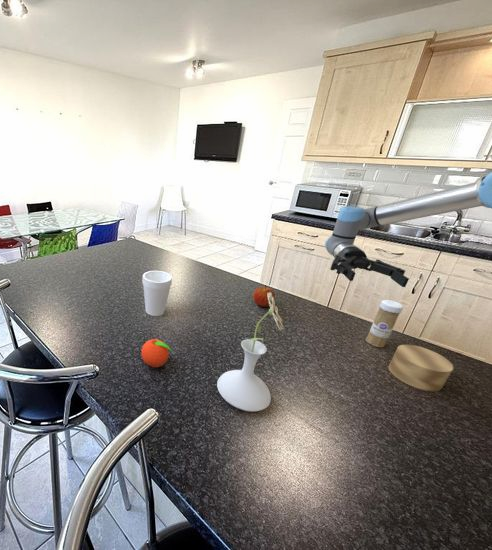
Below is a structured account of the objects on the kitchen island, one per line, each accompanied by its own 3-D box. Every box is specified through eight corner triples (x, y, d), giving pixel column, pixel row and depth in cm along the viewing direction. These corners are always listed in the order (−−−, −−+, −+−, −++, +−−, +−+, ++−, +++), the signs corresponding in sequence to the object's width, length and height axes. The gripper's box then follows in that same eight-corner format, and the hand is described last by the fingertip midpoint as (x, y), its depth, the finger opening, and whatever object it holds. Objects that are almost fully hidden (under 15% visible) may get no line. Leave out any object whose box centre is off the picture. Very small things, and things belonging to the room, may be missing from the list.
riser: (425, 366, 77) (435, 348, 74) (452, 395, 68) (465, 375, 66) (380, 359, 79) (389, 341, 77) (401, 386, 70) (412, 366, 68)
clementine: (174, 359, 78) (176, 337, 75) (168, 377, 72) (170, 354, 69) (145, 352, 80) (146, 330, 77) (137, 369, 74) (138, 346, 71)
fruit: (276, 307, 103) (282, 287, 100) (263, 312, 101) (268, 291, 97) (260, 299, 109) (264, 279, 106) (247, 303, 106) (251, 283, 103)
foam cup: (174, 315, 98) (177, 279, 93) (149, 321, 94) (152, 284, 89) (159, 302, 106) (161, 268, 100) (136, 307, 102) (137, 273, 97)
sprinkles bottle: (366, 345, 85) (384, 304, 79) (363, 336, 89) (380, 297, 83) (386, 350, 83) (406, 308, 77) (382, 341, 87) (401, 301, 81)
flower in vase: (259, 426, 60) (289, 322, 49) (207, 397, 66) (224, 300, 56) (277, 389, 69) (306, 295, 58) (230, 367, 75) (249, 279, 65)
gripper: (385, 269, 105) (423, 296, 86) (308, 261, 111) (327, 285, 92) (394, 249, 102) (434, 273, 83) (314, 242, 108) (335, 263, 89)
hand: (378, 279), depth 88 cm, fingers open, 13 cm apart
